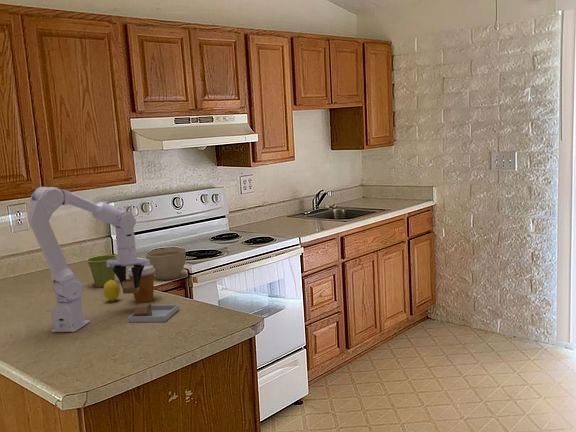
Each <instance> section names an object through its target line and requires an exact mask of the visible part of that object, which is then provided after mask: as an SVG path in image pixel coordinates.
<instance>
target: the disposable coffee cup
mask: <svg viewBox="0 0 576 432" xmlns="http://www.w3.org/2000/svg"><path fill="white" fill-rule="evenodd" d="M132 267H133V266H130V267H129V268H128V269H127V271H126V275H128V277H129V278H128V279H134V277H133V273H132V270H131V268H132ZM154 271H155V269H154V267H153V265H149V266H144V269H143V271H142V274H141V278H140V285H139V291H137V292H136V293H132V295H133V297H134V298H133V299H134V302H135V303H137V304H143V303H150V302H152V301H153V300H154V295H155V294H154V286H155V285H154V284H155V283H154V282H155V274H154Z"/></svg>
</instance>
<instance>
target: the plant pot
mask: <svg viewBox="0 0 576 432" xmlns="http://www.w3.org/2000/svg"><path fill="white" fill-rule="evenodd" d="M117 258H118V255H115V254H102V255H101V254H100V255H97V256H96V255H95V256H91V257H89V258H87V259H86V260H85V261H86V262H87V264H88V266H89V268H90V271H91V275H92V278H93V281H94V286H95V287H96V288H102V287H103V288H104V285H105V283H106V282H108V281H109V280H113V281H115V280H116V279H115V277H116V274H115V273H114V272H113V269H114V267H107V263H106V262H107V261H109V260H117Z"/></svg>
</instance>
